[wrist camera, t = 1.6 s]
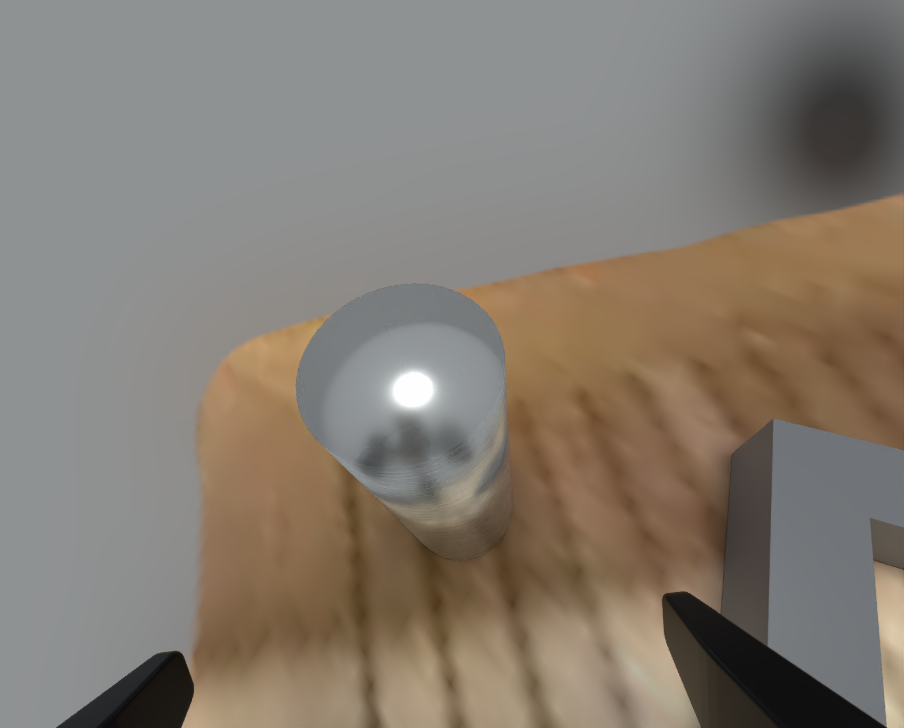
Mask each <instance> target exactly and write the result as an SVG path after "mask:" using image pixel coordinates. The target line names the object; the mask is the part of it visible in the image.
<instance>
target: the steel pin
mask: <svg viewBox="0 0 904 728" xmlns="http://www.w3.org/2000/svg"><path fill="white" fill-rule="evenodd" d="M296 397H297V403H298V408H299V411H300V413H301V416H302V419H303V421H304V423H305V424H306V426H307V428H308V430H309V431H310V432H311V433H312V435H313V436H314V437H315V438H316V440H318V441H319V442H320V443H321V444H322V445H323V446H324V447H325V448H326V449H327V450H328V451H329V452H330V453H331V454H332V455H333V456H334V457H335V458H336V459H337V460H338V461H339V462H340V463H341V464H342V465H343V466H344V467H345V468H346V469H347V470H348V471H349V472H350V473H351V474H352V475H353V476H354V477H355V478H356V479H357V480H358V481H359V482H360V483H361V484H362V485H363V486H365V487H366V488H367V489H368V490H369V491H370V492H371V493H372V494H373V495H374V496H375V497H376V498H377V499H378V500H379V501H380V502H381V503H382V504H383V505H384V506H385V507H386V508H387V509H388V510H389V511H390V512H391V513H392V514H393V515H394V516H395V517H396V518H397V519H398V520H399V521H400V522H401V523H402V524H403V525H404V526H405V527H406V528H407V529H408V530H409V531H411V532H412V533H413V534H414V535H415V536H416V537H417V538H418V539H419V540H420V541H421V542H422V543H423V544H424V545H425V546H426V547H427V548H428V549H429V550H431V551H432V552H434V553H435V554H437V555H439V556H441V557H444V558H447V559H453V560H468V559H472V558H476V557H479V556H481V555H483V554H485V553H487V552H488V551H490V550H491V549H492V548H493V547H495V546H496V545H497V544H498V543H499V541H500V540H501V539H502V537H503V536H504V534H505V533H506V531H507V529H508V526H509V523H510V520H511V516H512V490H511V469H510V449H509V428H508V407H507V386H506V366H505V352H504V346H503V342H502V339H501V336H500V333H499V331H498V329H497V327H496V325H495V323H494V322H493V320H492V319H491V318H490V316H489V315H488V314H487V313H486V312H485V311H484V310H483V309H482V308H481V307H480V306H479V305H478V304H477V303H475V302H474V301H473V300H471V299H470V298H468V297H466V296H464V295H463V294H461V293H459V292H456V291H454V290H451V289H448V288H444V287H441V286H436V285H429V284H401V285H395V286H389V287H385V288H382V289H378V290H375V291H373V292H370V293H367V294H365V295H363V296H361V297H358V298H356V299H355V300H353V301H351V302H349V303H348V304H346V305H345V306H343V307H342V308H341V309H339V310H338V311H336V312H335V313H334V314H333V315H332V316H331V317H330V318H328V319H327V320H326V321H325V322H324V324H323V325H322V326H321V327H320V328H319V329H318V330H317V332H316V333H315V334H314V336H313V337H312V339H311V340H310V342H309V344H308V345H307V347H306V349H305V351H304V354H303V356H302V358H301V361H300V364H299V368H298V372H297V380H296Z"/></svg>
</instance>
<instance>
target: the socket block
mask: <svg viewBox="0 0 904 728" xmlns="http://www.w3.org/2000/svg"><path fill="white" fill-rule="evenodd" d="M873 560H875V561H879V562H882V563H885V564H888V565H892V566H895V567H898V568H901V569H904V450H900V449H896V448H892V447H888V446H884V445H880V444H876V443H871V442H867V441H863V440H859V439H855V438H851V437H847V436H843V435H839V434H835V433H830V432H826V431H822V430H818V429H814V428H810V427H806V426H802V425H798V424H794V423H789V422H785V421H781V420H777V419H773V420H771V421H770V422H769V423H768V424H767V425H766V426H764V427H763V428H762V429H761V430H760V431H759V432H757V433H756V434H755V435H754V436H753V437H751V438H750V439H749V440H748V441H747V442H746V443H744V444H743V445H742V446H741V447H740V448H739V449H737V450H736V451H735V452H734V453H733V454H732V466H731V480H730V494H729V509H728V523H727V537H726V551H725V565H724V579H723V593H722V607H721V615H722V616H724V617H725V618H727V619H728V620H730V621H731V622H733V623H734V624H736V625H737V626H739V627H740V628H742V629H743V630H745V631H746V632H747V633H749V634H750V635H752V636H753V637H755V638H756V639H758V640H759V641H761V642H762V643H764V644H765V645H767V646H768V647H770V648H771V649H773V650H774V651H775V652H777V653H778V654H780V655H781V656H783V657H784V658H786V659H787V660H789V661H790V662H792V663H793V664H795V665H796V666H798V667H799V668H800V669H802V670H803V671H805V672H806V673H808V674H809V675H811V676H812V677H814V678H815V679H817V680H818V681H820V682H821V683H823V684H824V685H825V686H827V687H828V688H830V689H831V690H833V691H834V692H836V693H837V694H839V695H840V696H842V697H843V698H845V699H846V700H848V701H849V702H850V703H852V704H853V705H855V706H856V707H858V708H859V709H861V710H862V711H864V712H865V713H867V714H868V715H870V716H871V717H873V718H874V719H876V720H877V721H878V722H880V723H881V724H883V725H884V726H886V714H885V702H884V689H883V677H882V664H881V651H880V639H879V626H878V614H877V601H876V589H875V576H874V564H873Z"/></svg>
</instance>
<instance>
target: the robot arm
mask: <svg viewBox="0 0 904 728" xmlns="http://www.w3.org/2000/svg"><path fill="white" fill-rule="evenodd" d="M662 608H663V624H664V635H665V639H666V643H667V646H668V648H669V651H670V653H671V656H672V658H673V660H674V663H675V665H676V668H677V670H678V673H679V675H680V677H681V680H682V682H683V685H684V687H685V689H686V692H687V694H688V697H689V699H690V701H691V704H692V706H693V709H694V711H695V714H696V716H697V718H698V721H699V723H700V726H701V728H887V727H886V726H884V725H883V724H881V723H880V722H878V721H877V720H876V719H874V718H873V717H871V716H870V715H868V714H867V713H865V712H864V711H862V710H861V709H859V708H858V707H856V706H855V705H853V704H852V703H850V702H849V701H848V700H846V699H845V698H843V697H842V696H840V695H839V694H837V693H836V692H834V691H833V690H831V689H830V688H828V687H827V686H825V685H824V684H823V683H821V682H820V681H818V680H817V679H815V678H814V677H812V676H811V675H809V674H808V673H806V672H805V671H803V670H802V669H800V668H799V667H798V666H796V665H795V664H793V663H792V662H790V661H789V660H787V659H786V658H784V657H783V656H781V655H780V654H778V653H777V652H775V651H774V650H773V649H771V648H770V647H768V646H767V645H765V644H764V643H762V642H761V641H759V640H758V639H756V638H755V637H753V636H752V635H750V634H749V633H747V632H746V631H745V630H743V629H742V628H740V627H739V626H737V625H736V624H734V623H733V622H731V621H730V620H728V619H727V618H725V617H724V616H722V615H721V614H720V613H718V612H717V611H715V610H714V609H712V608H711V607H709V606H708V605H706V604H705V603H703V602H702V601H700V600H699V599H697V598H696V597H695V596H693V595H692V594H690V593H688V592H684V591H682V592H674V593H666V594H664V595H663V598H662ZM193 694H194V684H193V681H192V678H191V675H190V672H189V669H188V667H187V664H186V661H185V658H184V656H183V654H182V653H180V652H179V651H171V652H163V653H158V654H156V655H154V656H152V657H151V658H150V659H148V660H147V661H146V662H144V663H143V664H142V665H140V666H139V667H138V668H136V669H135V670H133V671H132V672H131V673H129V674H128V675H127V676H125V677H124V678H123V679H121V680H120V681H119V682H117V683H116V684H114V685H113V686H112V687H111V688H109V689H108V690H106V691H105V692H104V693H102V694H101V695H100V696H98V697H97V698H96V699H94V700H93V701H92V702H90V703H89V704H88V705H86V706H85V707H83V708H82V709H81V710H79V711H78V712H77V713H75V714H74V715H73V716H71V717H70V718H69V719H67V720H66V721H65V722H63V723H62V724H60V725H59V726H58V727H56V728H181V727H182V725H183V722H184V719H185V717H186V714H187V712H188V709H189V707H190V704H191V702H192V698H193Z"/></svg>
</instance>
